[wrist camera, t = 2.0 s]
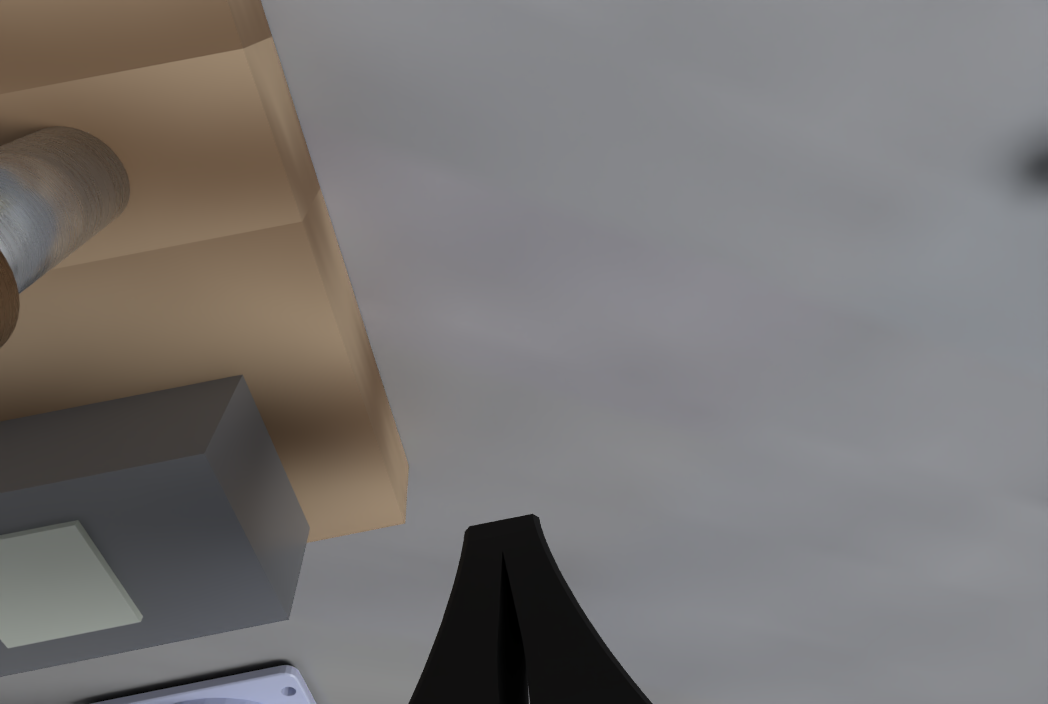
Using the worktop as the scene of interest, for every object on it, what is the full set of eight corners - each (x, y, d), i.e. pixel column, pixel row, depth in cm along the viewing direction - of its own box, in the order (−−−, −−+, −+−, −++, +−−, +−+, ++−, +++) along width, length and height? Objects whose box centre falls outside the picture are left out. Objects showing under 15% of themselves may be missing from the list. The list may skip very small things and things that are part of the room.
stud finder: (309, 527, 19) (287, 625, 16) (54, 578, 18) (-12, 684, 16) (242, 374, 16) (201, 458, 13) (-53, 431, 16) (-155, 528, 13)
